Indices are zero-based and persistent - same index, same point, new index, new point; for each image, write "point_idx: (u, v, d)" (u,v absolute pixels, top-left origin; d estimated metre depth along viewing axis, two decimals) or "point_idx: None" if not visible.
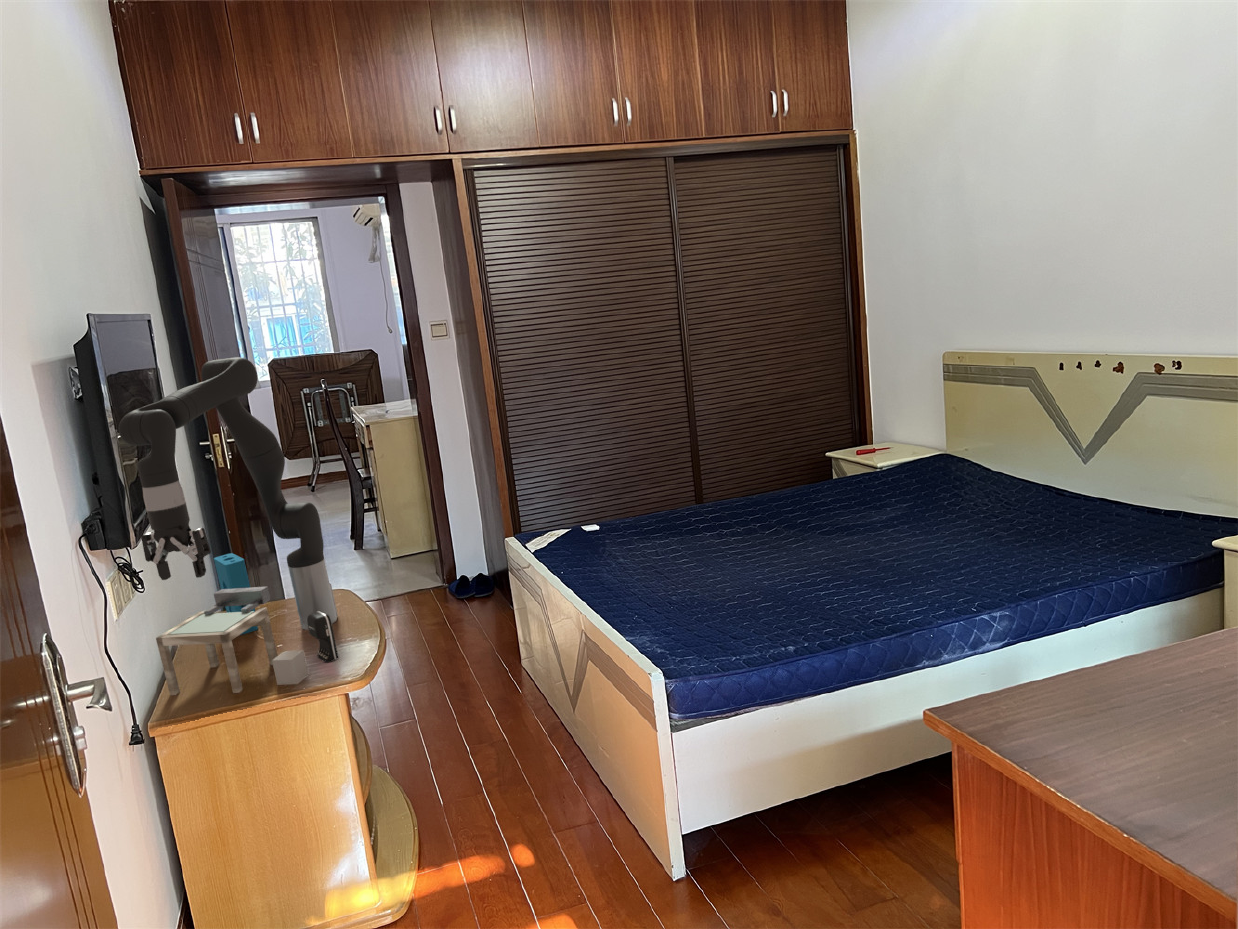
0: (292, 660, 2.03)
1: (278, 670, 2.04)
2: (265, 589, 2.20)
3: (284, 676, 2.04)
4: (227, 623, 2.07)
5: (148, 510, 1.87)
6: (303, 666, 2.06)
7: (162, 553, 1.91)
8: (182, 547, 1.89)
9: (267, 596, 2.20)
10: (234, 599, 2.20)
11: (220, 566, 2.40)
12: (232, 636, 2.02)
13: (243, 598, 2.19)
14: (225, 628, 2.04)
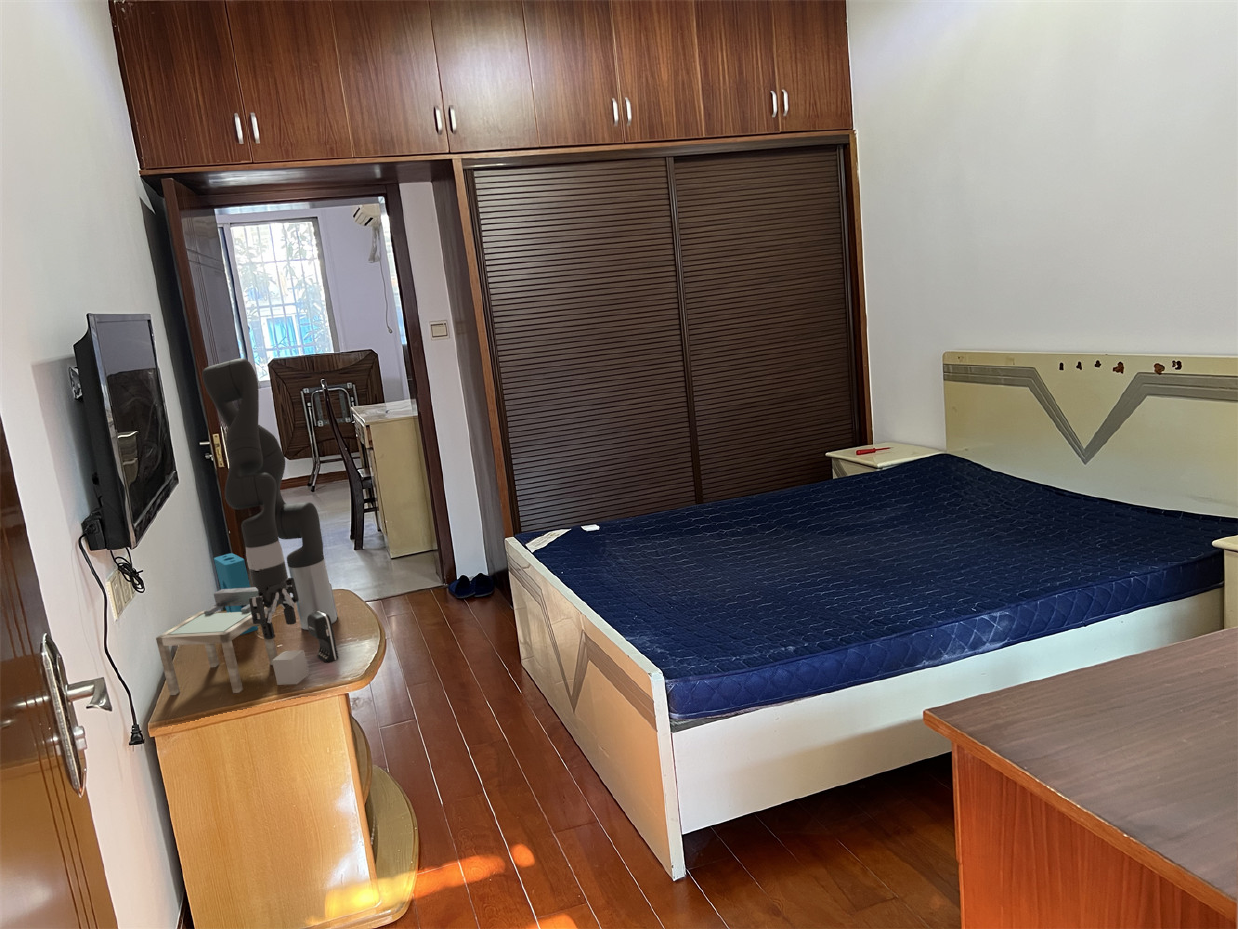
0: (292, 660, 2.03)
1: (278, 670, 2.04)
2: None
3: (284, 676, 2.04)
4: (227, 623, 2.07)
5: (276, 564, 1.99)
6: (303, 666, 2.06)
7: None
8: (288, 596, 2.05)
9: None
10: (234, 599, 2.20)
11: (220, 566, 2.40)
12: (232, 636, 2.02)
13: (243, 598, 2.19)
14: (225, 628, 2.04)
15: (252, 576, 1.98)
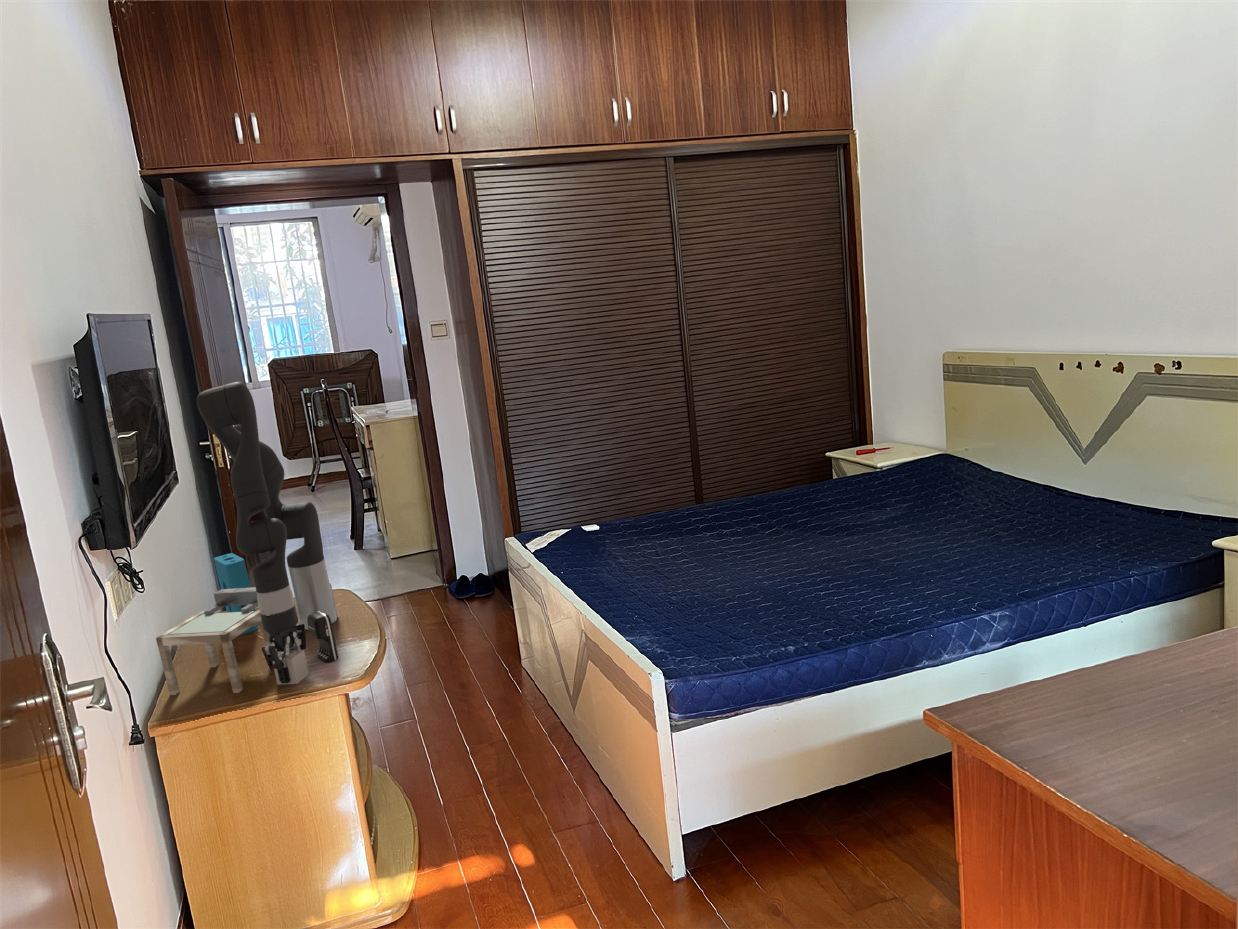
0: (292, 660, 2.03)
1: None
2: None
3: None
4: (227, 623, 2.07)
5: (286, 609, 2.01)
6: (303, 666, 2.06)
7: None
8: (298, 641, 2.07)
9: None
10: (234, 599, 2.20)
11: (220, 566, 2.40)
12: (232, 636, 2.02)
13: (243, 598, 2.19)
14: (225, 628, 2.04)
15: (263, 621, 2.01)
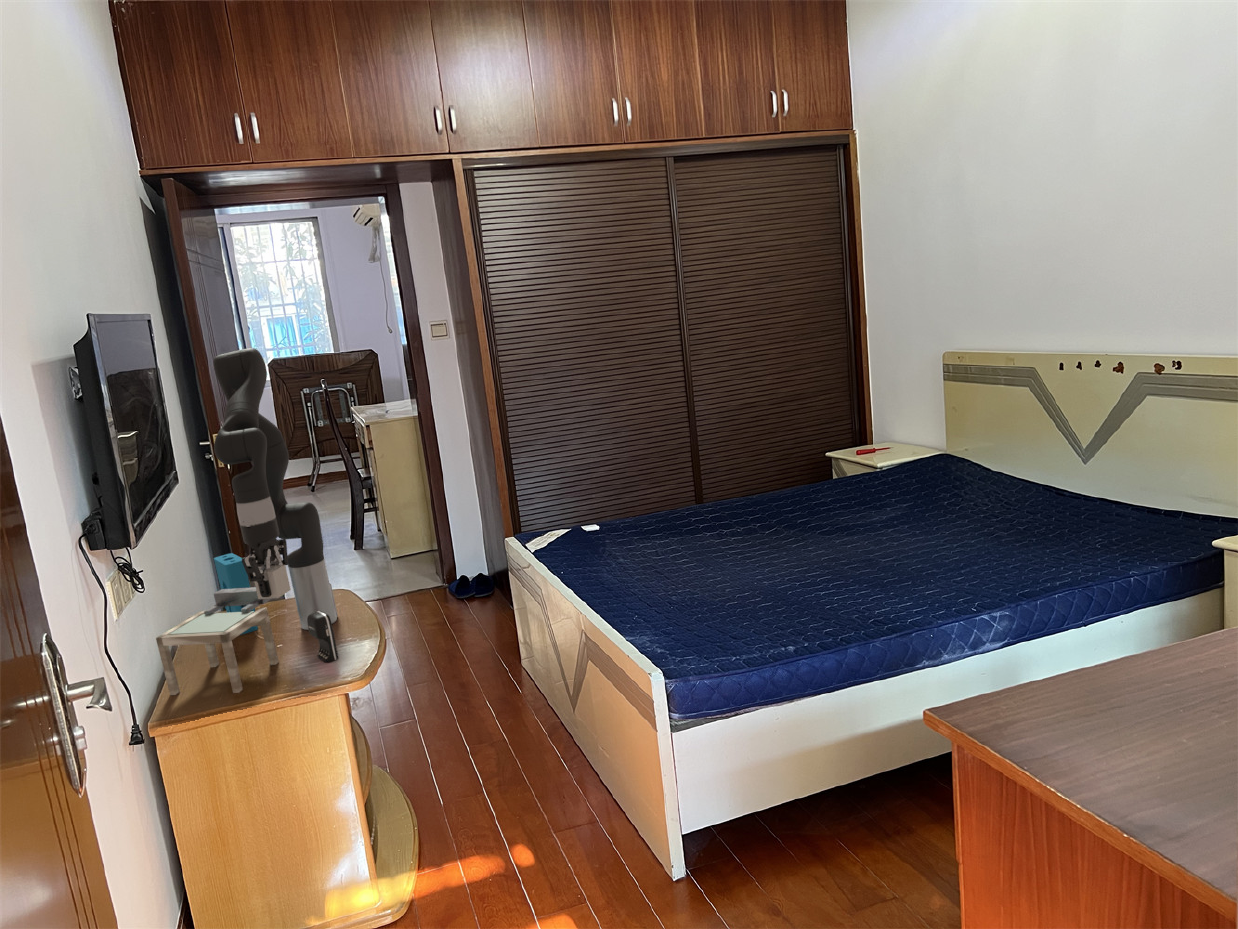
0: (273, 573, 1.99)
1: None
2: None
3: None
4: (227, 623, 2.07)
5: (267, 520, 1.97)
6: (285, 581, 2.02)
7: None
8: (279, 556, 2.03)
9: None
10: (234, 599, 2.20)
11: (220, 566, 2.40)
12: (232, 636, 2.02)
13: (243, 598, 2.19)
14: (225, 628, 2.04)
15: (243, 532, 1.97)
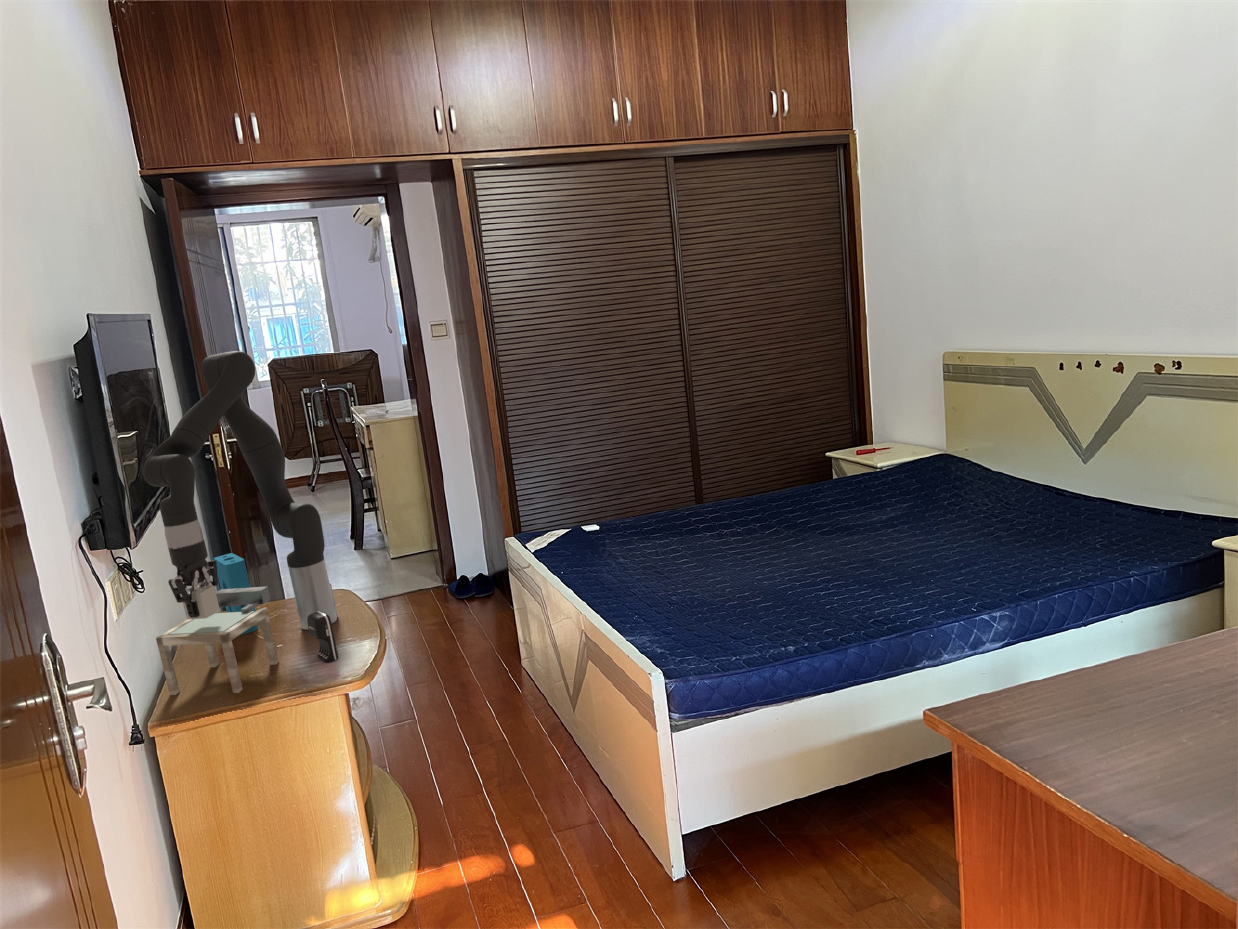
0: (201, 594, 2.03)
1: None
2: (265, 589, 2.20)
3: None
4: (227, 623, 2.07)
5: (194, 543, 2.01)
6: (213, 601, 2.07)
7: None
8: (208, 577, 2.07)
9: (267, 596, 2.20)
10: (234, 599, 2.20)
11: (220, 566, 2.40)
12: (232, 636, 2.02)
13: (243, 598, 2.19)
14: (225, 628, 2.04)
15: (171, 554, 2.01)
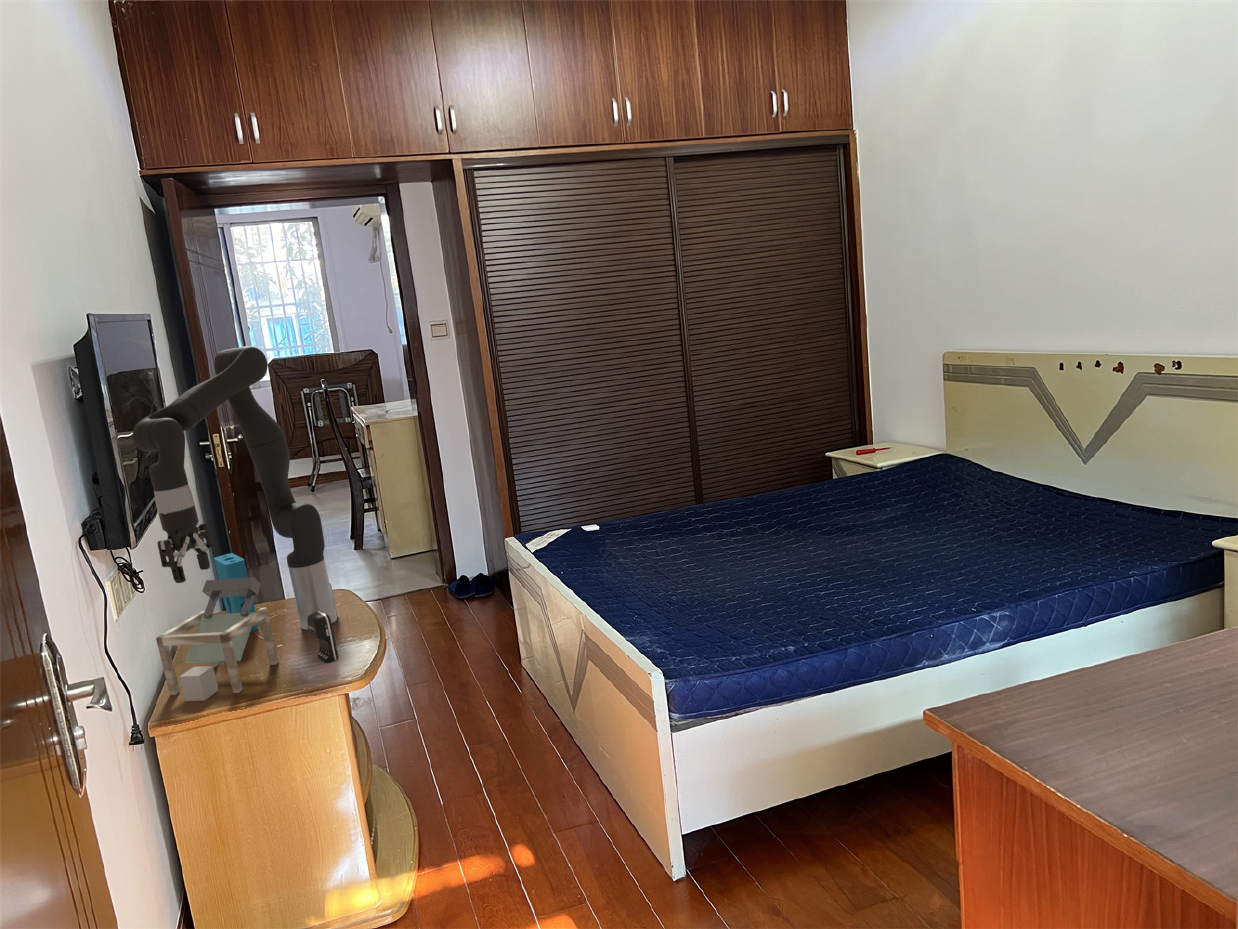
0: (217, 689, 2.06)
1: None
2: (253, 582, 2.15)
3: None
4: (236, 640, 2.10)
5: (184, 508, 1.99)
6: (205, 683, 2.02)
7: None
8: (200, 541, 2.06)
9: (257, 586, 2.17)
10: (225, 593, 2.17)
11: (220, 566, 2.40)
12: (232, 636, 2.02)
13: (234, 592, 2.16)
14: (237, 652, 2.08)
15: (161, 520, 1.99)
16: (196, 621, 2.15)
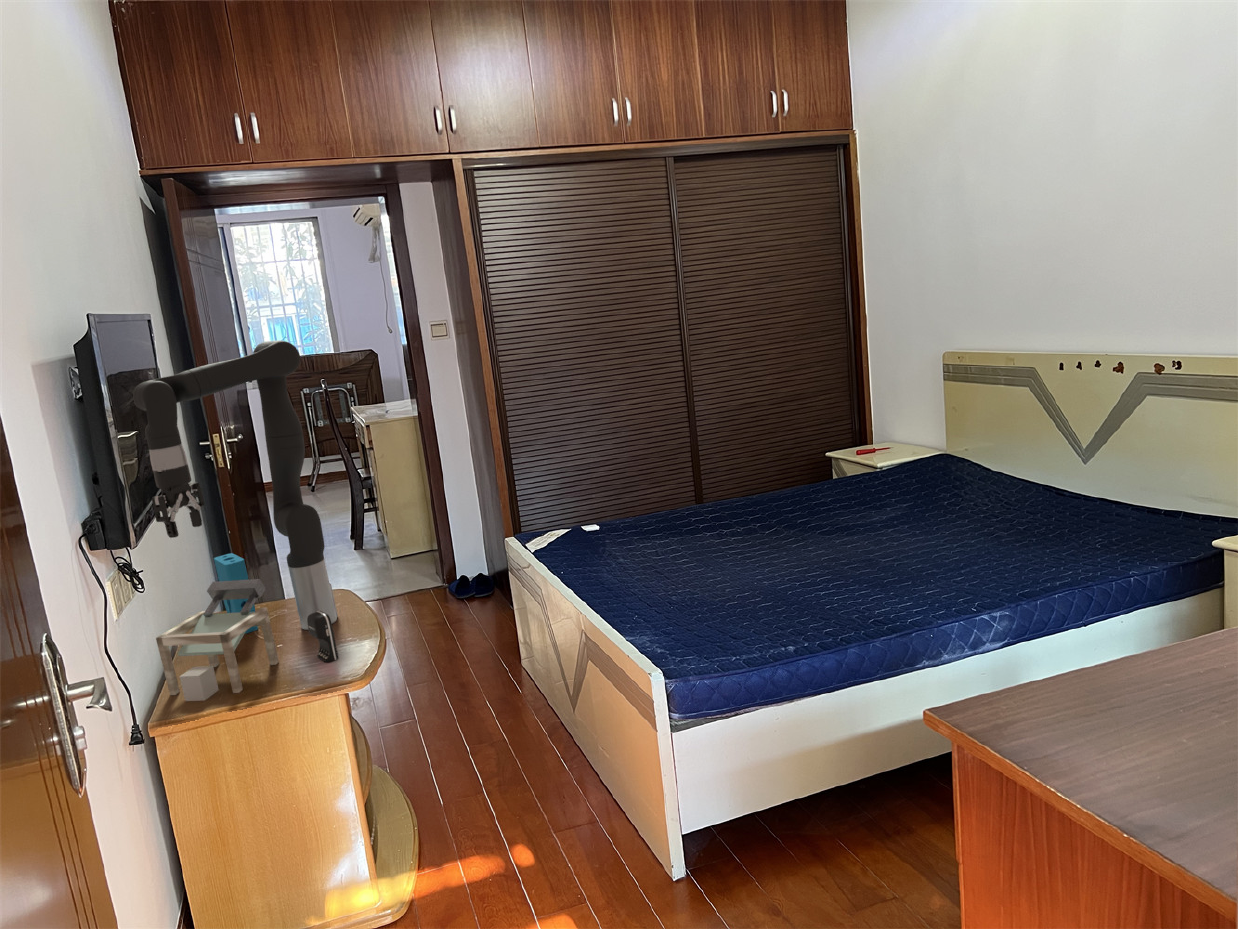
0: (217, 689, 2.06)
1: None
2: (258, 583, 2.17)
3: None
4: None
5: (178, 466, 2.10)
6: (205, 683, 2.02)
7: None
8: (193, 499, 2.16)
9: (261, 588, 2.18)
10: (229, 594, 2.18)
11: (220, 566, 2.40)
12: (232, 636, 2.02)
13: (238, 593, 2.17)
14: None
15: (156, 477, 2.10)
16: (196, 621, 2.15)
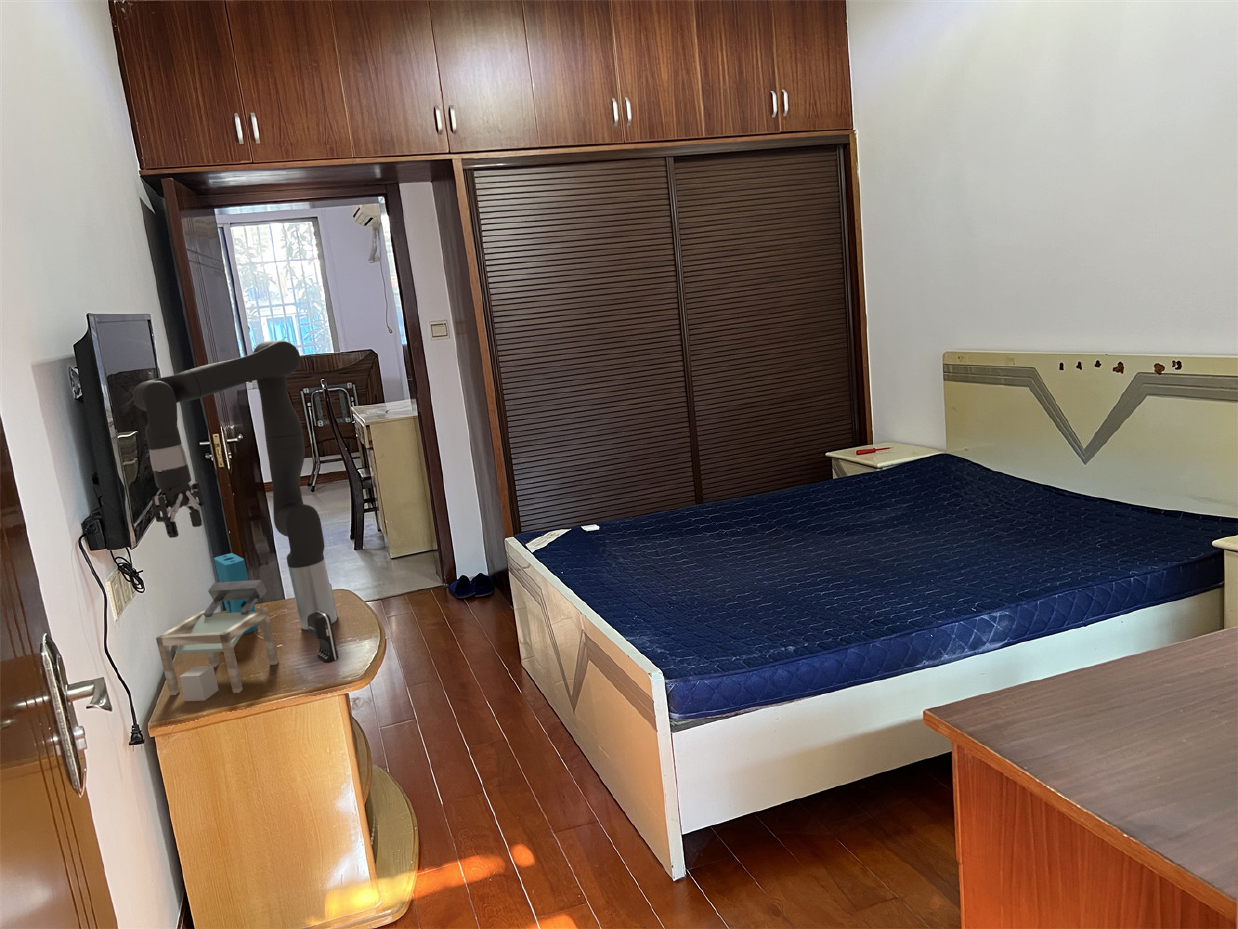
0: (217, 689, 2.06)
1: None
2: (259, 583, 2.18)
3: None
4: None
5: (178, 466, 2.10)
6: (205, 683, 2.02)
7: None
8: (193, 499, 2.16)
9: (262, 589, 2.19)
10: (230, 595, 2.18)
11: (220, 566, 2.40)
12: (232, 636, 2.02)
13: (239, 594, 2.18)
14: None
15: (156, 477, 2.10)
16: (196, 621, 2.15)
